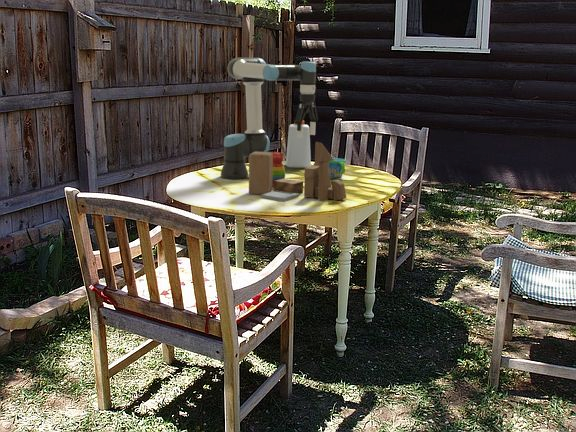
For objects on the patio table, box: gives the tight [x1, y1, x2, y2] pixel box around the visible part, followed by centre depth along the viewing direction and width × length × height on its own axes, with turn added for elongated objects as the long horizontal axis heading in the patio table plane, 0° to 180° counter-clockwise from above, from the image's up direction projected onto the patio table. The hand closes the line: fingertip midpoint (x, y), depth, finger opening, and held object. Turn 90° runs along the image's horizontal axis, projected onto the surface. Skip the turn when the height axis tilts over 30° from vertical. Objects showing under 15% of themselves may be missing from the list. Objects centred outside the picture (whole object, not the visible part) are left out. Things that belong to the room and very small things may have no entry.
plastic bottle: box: [285, 119, 312, 169], centre depth 408 cm, size 15×15×28 cm
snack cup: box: [329, 157, 346, 179], centre depth 377 cm, size 16×10×10 cm
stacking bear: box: [270, 151, 286, 188], centre depth 348 cm, size 11×10×18 cm
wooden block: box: [248, 151, 273, 196], centre depth 329 cm, size 10×10×20 cm
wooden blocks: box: [303, 141, 348, 202], centre depth 323 cm, size 24×20×28 cm
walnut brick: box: [273, 178, 304, 195], centre depth 334 cm, size 12×8×6 cm, turn 55°
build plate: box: [261, 190, 300, 202], centre depth 323 cm, size 13×13×2 cm
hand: (306, 136), depth 338 cm, fingers open, 13 cm apart
